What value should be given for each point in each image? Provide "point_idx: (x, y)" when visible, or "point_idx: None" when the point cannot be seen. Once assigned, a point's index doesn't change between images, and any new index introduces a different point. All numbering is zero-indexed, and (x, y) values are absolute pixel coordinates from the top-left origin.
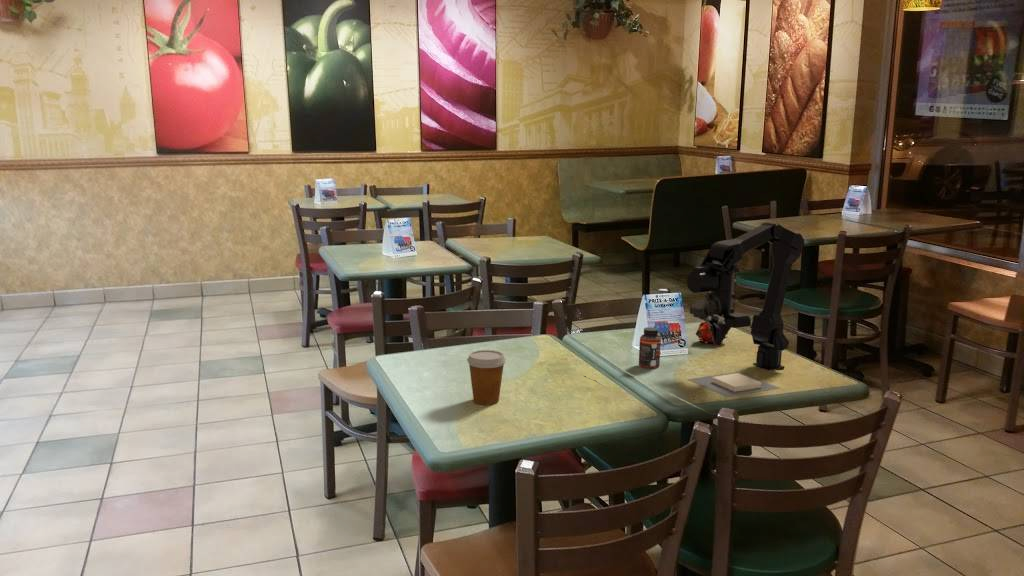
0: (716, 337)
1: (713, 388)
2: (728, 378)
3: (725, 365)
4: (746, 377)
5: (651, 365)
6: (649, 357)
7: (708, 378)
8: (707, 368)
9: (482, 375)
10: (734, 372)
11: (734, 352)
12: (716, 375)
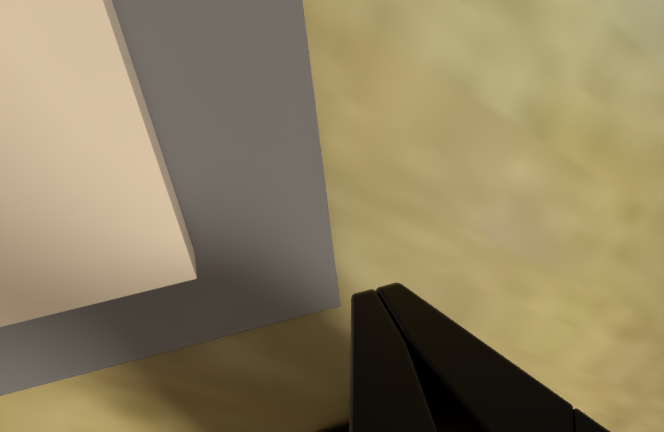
0: (397, 397)
1: None
2: (27, 135)
3: (495, 281)
4: (57, 294)
5: None
6: None
7: (240, 5)
8: (504, 151)
9: None
10: (330, 276)
11: (624, 382)
12: (304, 125)
